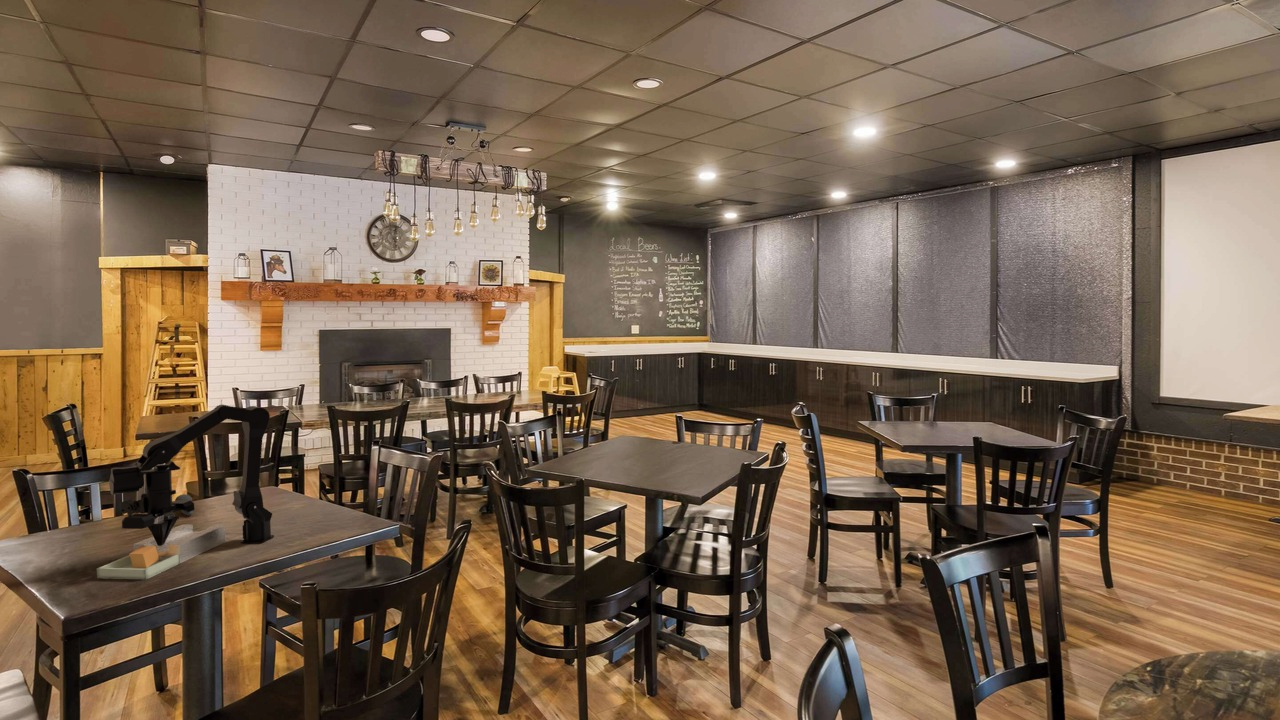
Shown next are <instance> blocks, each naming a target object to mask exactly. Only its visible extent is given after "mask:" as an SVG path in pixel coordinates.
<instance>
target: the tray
mask: <svg viewBox="0 0 1280 720" xmlns="http://www.w3.org/2000/svg"><path fill="white" fill-rule="evenodd" d="M179 564H180V563H179V557H178V555H175V556H172V557H170V558H168V559H166V560H164V561H156V562H155V563H153V564H152V565H150V566H149V567H147V568H135V567H133V565H132V562H131V558H130V555H126V556H123V557H121V558H119V559H117V560H114V561H112V562H110V563H109V562H108V563H107V564H105V565H103V566H99V567H97V568H96V578H97V579H105V580H106V579H107V580H108V579H111V580H114V579H115V580H117V579H118V580H148V579H150V578H152V577H154V576H157V575H158V574H161V573H162V572H165V571H167V570H169V569H171V568H173V567H175V566H178V565H179Z"/></svg>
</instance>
